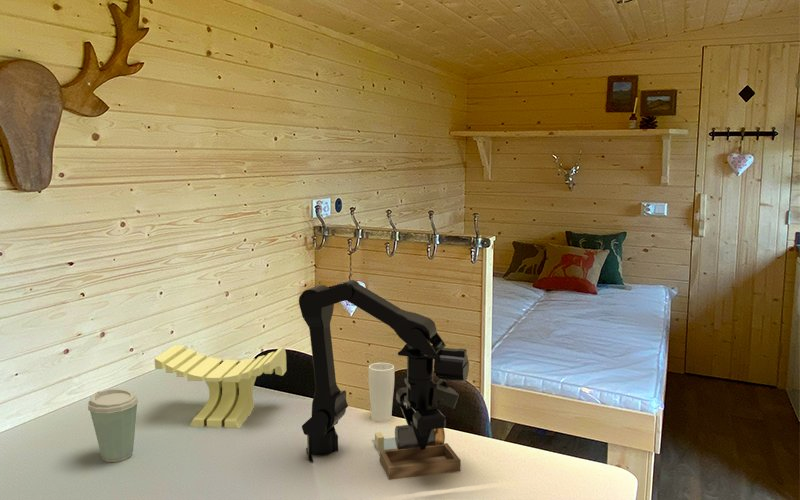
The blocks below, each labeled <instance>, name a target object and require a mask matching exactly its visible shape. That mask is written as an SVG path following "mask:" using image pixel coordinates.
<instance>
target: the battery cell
mask: <svg viewBox="0 0 800 500" xmlns="http://www.w3.org/2000/svg"><path fill="white" fill-rule="evenodd" d="M445 433H446V432H445V428H438V429H432V431H431V433H430V436H429V439H428V442H427V445H426V447H428V446H439V445H443V444H444V443H445V439H446V436H445V435H446V434H445ZM394 438H395V441H396V446H397V449H398V450H401V449H410V448H419V445H418V442H417V439H416V436H415V433H414V431H413V428H412V425H408V424H403V425H402V424H401V425H396V426H395V427H394Z"/></svg>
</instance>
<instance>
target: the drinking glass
mask: <svg viewBox="0 0 800 500" xmlns="http://www.w3.org/2000/svg"><path fill="white" fill-rule="evenodd" d="M394 389H395V365H393V364H392V363H388V362H375V363H371V364H370V365H368V390H369V401H370V404H369V405H370V413H371V414H370V415H371V416H370V417H371V419H372V421H374V422H381V423H382V422H389V421H391V419H393V417H392V416H393V415H392V414H393V413H392V411H393V401H394V393H395V392H394Z"/></svg>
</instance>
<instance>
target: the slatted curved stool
mask: <svg viewBox="0 0 800 500" xmlns="http://www.w3.org/2000/svg"><path fill="white" fill-rule="evenodd" d="M163 369H165V373H166V374H174V373H176V377H177V378H184V377H186V379H187V381H188V382H203V381H204V382H205V384H206V386H207V388H208V391H209V394H208V395H209V396H208V400H207V401H206V403H205V405H204V407H202V409H201V410H200V412H198V413H197V415H196V416H194V418H193V419H192V421H191V423H190V425H189V427H194V426H197V428H200V427H201V428H203V426H204V427H205V426H206V428H219V427H221V428H222V427H224V428H225V429H226V428H227V429H240V428H241V426H242V425H243V424H244V423H245V422H246V420H247V419H248V418H249V417H248V415H249V414H250V412H251V411H252V409H253V408H254V409H255V403H254V395H253V394H254V388H255V387H254V386H255V382H256V379H257V378H258V377H260V376H262V374H264V375H272V374H273V373H274V372H275V373H274V374H275V375H278V376H280V377H283V376H284V375H285V373H286V372H287V352H286V348H284V347H281V348H278V349H277V350H276V351H271V352H269V353H267V354H266V355H264V354H263V355H260V356H258V357H257V358H255V357H254V358H246V359H241V361H240V359H225V360H224V359H222V358H217V357H213V356H212V357H211V356H207V355H206V354H204V353H200V352H198V353H197V351H196V350H193V349H190V348H187V347H186V346H185V345H182V344H181V345H180V344H174V345H172V346H171V347H170V348H168V349H167V350H165V351H164V352H162V353H161V354H159V355H157V356H156V357H154V370H163ZM250 415H251V414H250ZM250 415H249V416H250ZM247 417H248V418H247ZM246 418H247V419H246ZM245 419H246V420H245ZM243 422H244V423H243ZM242 423H243V424H242Z"/></svg>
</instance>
